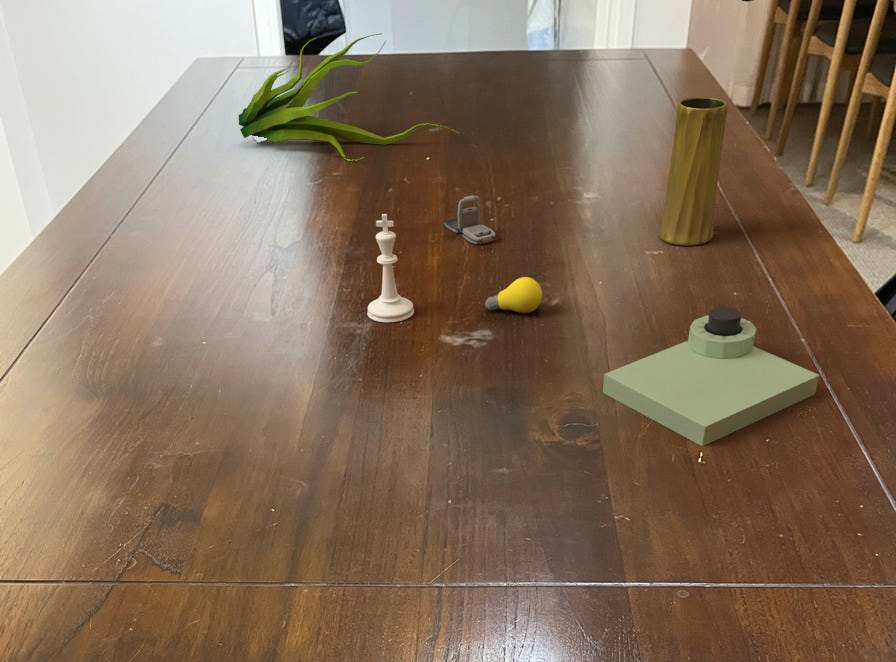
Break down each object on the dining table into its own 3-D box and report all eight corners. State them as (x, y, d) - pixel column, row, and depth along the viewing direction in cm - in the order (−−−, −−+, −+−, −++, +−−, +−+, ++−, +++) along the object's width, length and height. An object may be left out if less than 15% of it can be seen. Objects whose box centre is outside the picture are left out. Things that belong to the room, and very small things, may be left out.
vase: (681, 250, 114) (698, 113, 105) (647, 234, 119) (661, 101, 109) (723, 239, 116) (744, 103, 107) (689, 224, 121) (706, 92, 111)
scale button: (721, 322, 93) (724, 304, 92) (745, 332, 91) (748, 313, 90) (700, 330, 92) (702, 312, 91) (723, 341, 90) (726, 322, 89)
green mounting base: (715, 344, 97) (721, 309, 94) (821, 391, 89) (830, 354, 86) (599, 391, 91) (602, 355, 88) (702, 447, 83) (708, 408, 80)
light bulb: (546, 315, 103) (536, 288, 100) (490, 329, 105) (479, 303, 102) (546, 293, 105) (537, 266, 102) (491, 307, 107) (481, 280, 104)
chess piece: (371, 302, 108) (364, 206, 101) (417, 303, 107) (412, 206, 100) (363, 322, 104) (355, 223, 97) (410, 323, 103) (405, 223, 97)
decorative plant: (376, 181, 139) (368, 60, 129) (235, 146, 154) (218, 36, 144) (459, 147, 148) (457, 32, 139) (318, 117, 164) (308, 12, 154)
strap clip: (498, 241, 119) (498, 204, 117) (475, 246, 118) (475, 209, 116) (463, 220, 125) (463, 184, 122) (441, 225, 124) (441, 189, 121)
